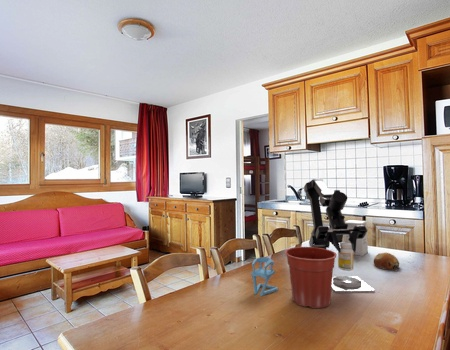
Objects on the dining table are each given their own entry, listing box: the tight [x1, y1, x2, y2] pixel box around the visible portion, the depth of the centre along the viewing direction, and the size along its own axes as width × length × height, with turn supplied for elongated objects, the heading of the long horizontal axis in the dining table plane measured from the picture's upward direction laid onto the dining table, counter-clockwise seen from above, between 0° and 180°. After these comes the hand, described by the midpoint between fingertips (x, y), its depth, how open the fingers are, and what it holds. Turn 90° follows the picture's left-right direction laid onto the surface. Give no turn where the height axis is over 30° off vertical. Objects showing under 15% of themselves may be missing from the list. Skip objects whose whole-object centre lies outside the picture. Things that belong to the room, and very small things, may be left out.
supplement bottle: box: [337, 241, 354, 272], centre depth 107 cm, size 5×5×10 cm
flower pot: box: [284, 246, 338, 309], centre depth 94 cm, size 16×16×16 cm
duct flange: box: [331, 275, 376, 294], centre depth 107 cm, size 14×14×2 cm
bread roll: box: [373, 252, 400, 271], centre depth 127 cm, size 10×10×8 cm
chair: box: [250, 256, 279, 297], centre depth 103 cm, size 8×8×12 cm
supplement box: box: [343, 219, 369, 257], centre depth 151 cm, size 10×9×17 cm
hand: (347, 251), depth 106 cm, fingers closed on supplement bottle, 5 cm apart
